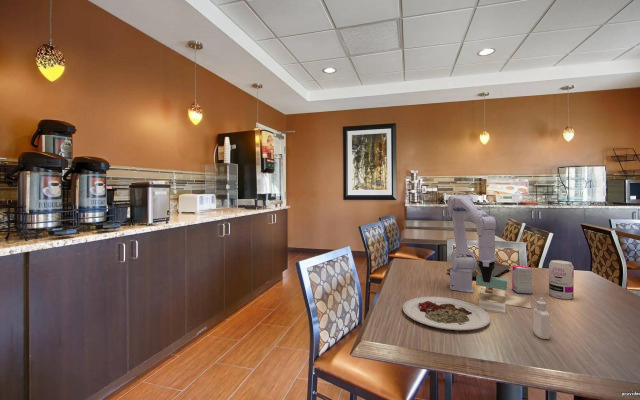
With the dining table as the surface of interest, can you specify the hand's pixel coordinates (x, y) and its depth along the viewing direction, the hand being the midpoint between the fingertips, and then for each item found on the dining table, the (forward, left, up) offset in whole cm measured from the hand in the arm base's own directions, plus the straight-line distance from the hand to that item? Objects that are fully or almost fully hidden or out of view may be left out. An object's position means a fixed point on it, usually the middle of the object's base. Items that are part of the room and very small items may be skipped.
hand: (486, 280), depth 118 cm
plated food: (-13, -17, -11) cm, 24 cm away
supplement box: (+13, +26, -10) cm, 31 cm away
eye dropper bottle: (+16, -19, -10) cm, 27 cm away
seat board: (+6, +11, -10) cm, 16 cm away
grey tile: (+2, 0, -10) cm, 10 cm away
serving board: (-6, +54, -11) cm, 56 cm away
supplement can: (+27, +27, -10) cm, 39 cm away
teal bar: (+1, 0, -2) cm, 3 cm away
